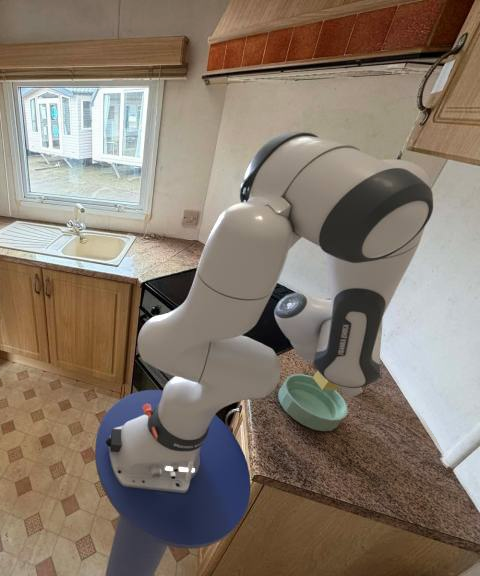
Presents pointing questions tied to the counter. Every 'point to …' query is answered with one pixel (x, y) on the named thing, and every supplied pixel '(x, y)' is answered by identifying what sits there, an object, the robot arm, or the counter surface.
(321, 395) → the bowl
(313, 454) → the counter surface
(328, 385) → the butter
